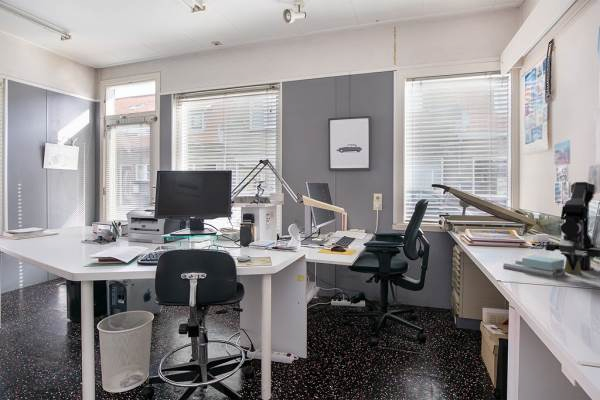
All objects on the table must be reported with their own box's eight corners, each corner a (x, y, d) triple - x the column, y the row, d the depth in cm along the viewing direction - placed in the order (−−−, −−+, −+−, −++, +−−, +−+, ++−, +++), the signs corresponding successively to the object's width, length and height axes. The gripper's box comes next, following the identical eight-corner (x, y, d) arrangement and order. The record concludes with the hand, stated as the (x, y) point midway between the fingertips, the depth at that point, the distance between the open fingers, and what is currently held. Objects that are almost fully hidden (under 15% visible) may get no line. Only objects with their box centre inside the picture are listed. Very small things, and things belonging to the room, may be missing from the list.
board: (516, 264, 164) (516, 260, 164) (564, 273, 147) (564, 268, 147) (503, 268, 158) (503, 263, 158) (551, 277, 141) (551, 271, 141)
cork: (584, 274, 145) (585, 249, 144) (568, 274, 146) (569, 249, 146) (576, 271, 151) (576, 247, 150) (561, 270, 152) (561, 247, 152)
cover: (535, 262, 157) (535, 255, 157) (563, 267, 147) (564, 259, 147) (522, 265, 151) (522, 257, 151) (551, 270, 141) (551, 262, 141)
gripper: (539, 232, 142) (539, 268, 143) (594, 237, 126) (593, 277, 127) (551, 230, 148) (551, 264, 149) (606, 235, 132) (605, 273, 132)
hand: (573, 270), depth 139 cm, fingers closed
